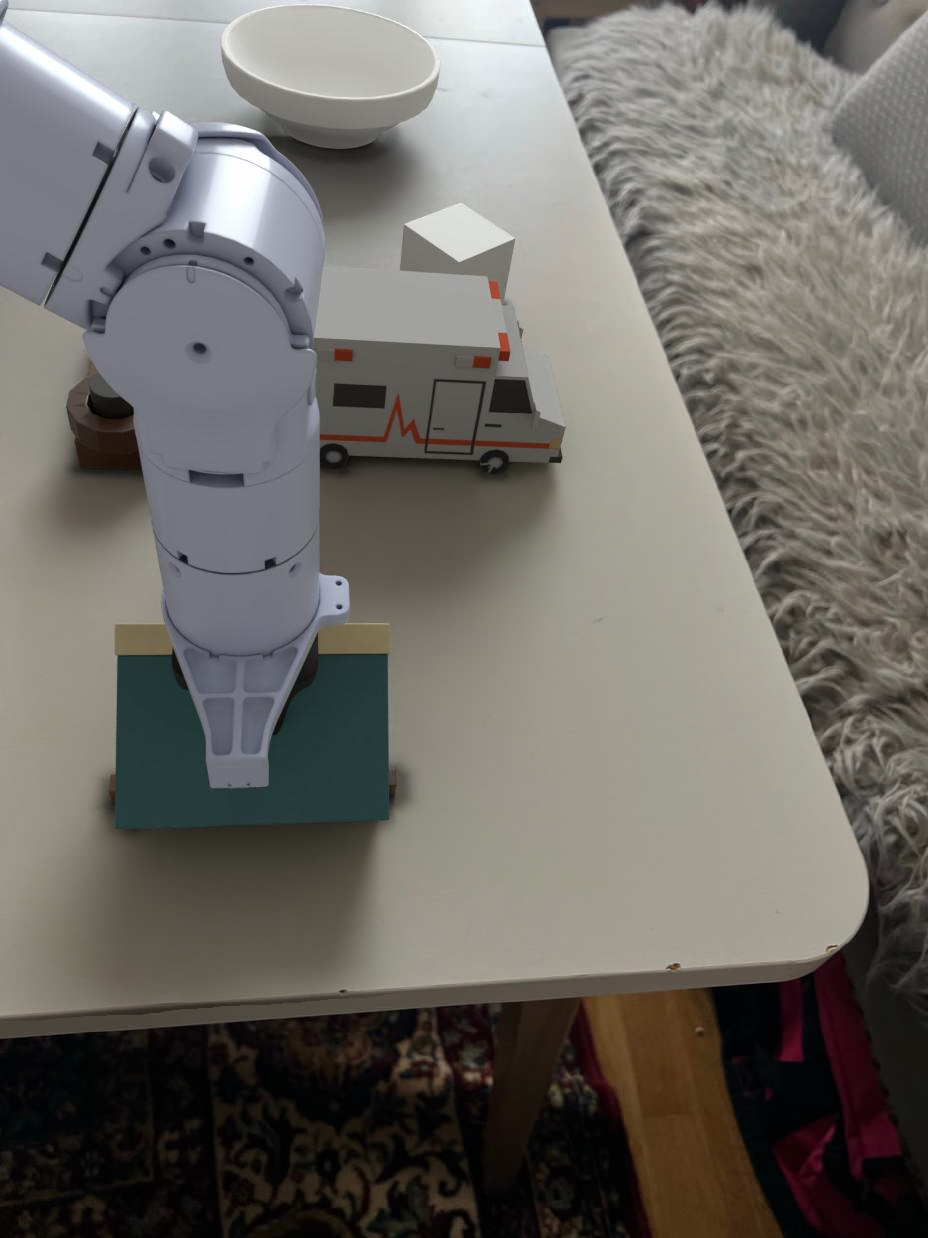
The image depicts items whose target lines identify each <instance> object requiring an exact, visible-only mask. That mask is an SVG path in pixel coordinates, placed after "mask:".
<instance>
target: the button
mask: <svg viewBox="0 0 928 1238" xmlns="http://www.w3.org/2000/svg"><path fill="white" fill-rule="evenodd" d="M89 389H90V395H91V400H92V405H93V409H94V411H95V412H96V414H97V415H99V416H100V417H102V418H105V419H123V418H126V417H129V416H132V415H134V408H133V406H132V405H130V404H129V403H128V402H127V401H126V400H124V399H123V398H122V397H121V396H120V395H119V394H118V393H116V392H115V391H114V390H113V389H112V388H111V387H110V386H109V385H108V383H107V382H106V381H105V380H104V379H103V377H102V376H101V375H100V373H99V372H97V373H96V374H94V375H93V376H92V377H91V379H90V381H89Z"/></svg>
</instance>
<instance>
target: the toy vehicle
mask: <svg viewBox="0 0 928 1238" xmlns="http://www.w3.org/2000/svg"><path fill="white" fill-rule="evenodd" d="M523 333H524V325H523V323H522V322H521V321H520V320H519V319H517V314H516V310H515V307H514V305H506V304H505V305H504V304H503V305H502V304H501V299H500V294H499V289H498V283H497V282H495V281H488V277H487V276H473V275H458V274H443V273H427V272H412V271H400V270H396V269H382V268H365V267H349V266H337V265H336V266H335V265H323V273H322V280H321V288H320V296H319V304H318V311H317V319H316V327H315V334H314V342H313V351H315V353H316V354H317V363H316V369H317V387H316V399H317V403H318V408H319V414H320V464H321V465H323V466H324V467H325V468H329V469H338V468H341V467H343V466H345V465H346V464H348V463H347V462H348V461H349V458H350V457H351V456H355V457H378V458H379V457H383V458H407V459H436V460H461V461H479V464H480V465H479V466H480V469H481V470H482V471H483V472H484V473H487V474H491V475H495V474H501V473H502V472H504V471H506V470H507V469H508V467H509V465H510V462H514V463H515V462H516V463H538V464H539V463H540V464H541V463H543V464H562V461H563V458H564V456H563V452H562V447H561V446H562V443H563V440H564V436H565V431H566V428H567V426H566V422H565V418H564V414H563V410H562V409H563V408H562V404H561V401H560V396H559V392H558V389H557V388H558V387H557V383H556V378H555V373H554V369H553V366H552V360H551V356H550V355H548V354H546V353H543V352H541V351H538V350H537V349H534V348H531V347H529V346H526V345H524V344H523V341H522V338H523Z"/></svg>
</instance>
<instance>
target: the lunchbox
mask: <svg viewBox="0 0 928 1238" xmlns="http://www.w3.org/2000/svg"><path fill="white" fill-rule="evenodd" d="M172 648H173V646H172V643H171V641H170V638H169V635H168V633H167V630H166V627H165V623H115V624H114V656H117V657H116V711H115V712H116V714H115V717H116V718H115V719H116V720H115V721H116V724H115V774H116V777H115V802H114V829H115V830H137V829H141V830H143V829H169V828H194V827H195V828H197V827H201V828H202V827H227V826H228V827H230V826H231V827H232V826H256V825H257V826H258V825H259V826H260V825H288V824H290V825H291V824H314V823H315V824H316V823H317V824H318V823H322V824H323V823H347V822H348V823H350V822H377V821H380V822H381V821H383V822H384V821H389V820H390V795H389V769H390V760H389V759H390V757H389V756H390V754H389V753H390V752H389V751H390V750H389V749H390V748H389V747H390V746H389V745H390V744H389V742H390V741H389V738H390V737H389V731H390V730H389V655H390V654H391V624H390V623H345V624H343V625H339V626H326V627H323V628H322V629H320V630H319V632H318V670H317V673H316V676H315V679H314V681H313V683H312V685H310V686H309V687H307V688H305V689H303V690H301V691H300V692H298V693H297V694H296V695H295V696H294V698H293V699H292V701H291V702H290V705H289V707H288V710H287V713H286V717H285V719H284V722H283V725H282V727H281V729H280V731H279V732H278V734H276V735H272V736H271V740H270V744H269V750H268V762H269V780H268V786H266V787H249V788H211V787H210V782H209V776H208V770H207V764H206V737H205V733H204V730H203V727H202V723H201V721H200V718H199V715H198V713H197V710H196V707H195V705H194V702H193V699H192V697H191V694H190V691H188V690H185V689H182V688H181V687H179V685H178V683H177V681H176V679H175V676H174V674H173V669H172V662H171V658H172Z"/></svg>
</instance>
